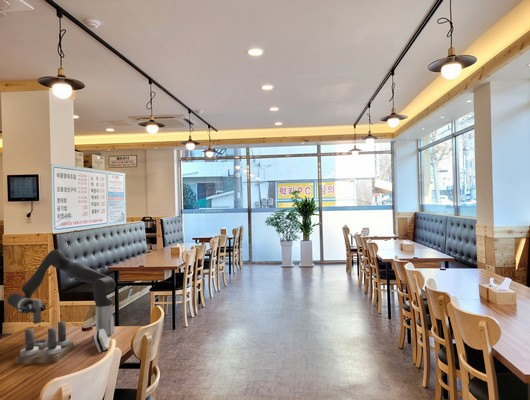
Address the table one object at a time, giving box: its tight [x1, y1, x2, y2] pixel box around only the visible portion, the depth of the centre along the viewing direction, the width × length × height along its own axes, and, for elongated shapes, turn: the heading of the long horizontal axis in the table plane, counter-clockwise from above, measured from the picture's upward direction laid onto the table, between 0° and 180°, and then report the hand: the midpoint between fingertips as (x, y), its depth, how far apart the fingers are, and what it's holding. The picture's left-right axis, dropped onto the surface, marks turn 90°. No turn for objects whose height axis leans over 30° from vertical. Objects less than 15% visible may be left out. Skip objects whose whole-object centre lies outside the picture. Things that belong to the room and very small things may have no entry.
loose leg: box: [32, 298, 42, 325], centre depth 205 cm, size 4×4×12 cm
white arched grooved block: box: [93, 329, 112, 353], centre depth 205 cm, size 17×5×10 cm, turn 18°
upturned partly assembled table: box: [15, 320, 74, 365], centre depth 194 cm, size 19×19×15 cm
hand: (39, 310), depth 203 cm, fingers closed on loose leg, 3 cm apart
